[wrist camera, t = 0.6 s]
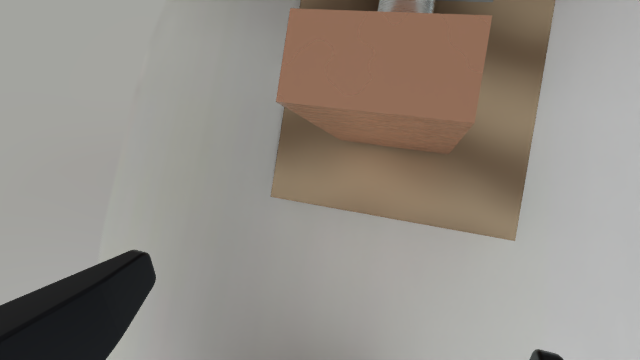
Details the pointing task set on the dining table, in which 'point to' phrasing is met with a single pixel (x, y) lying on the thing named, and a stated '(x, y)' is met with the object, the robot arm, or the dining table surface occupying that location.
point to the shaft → (386, 73)
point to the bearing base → (428, 167)
